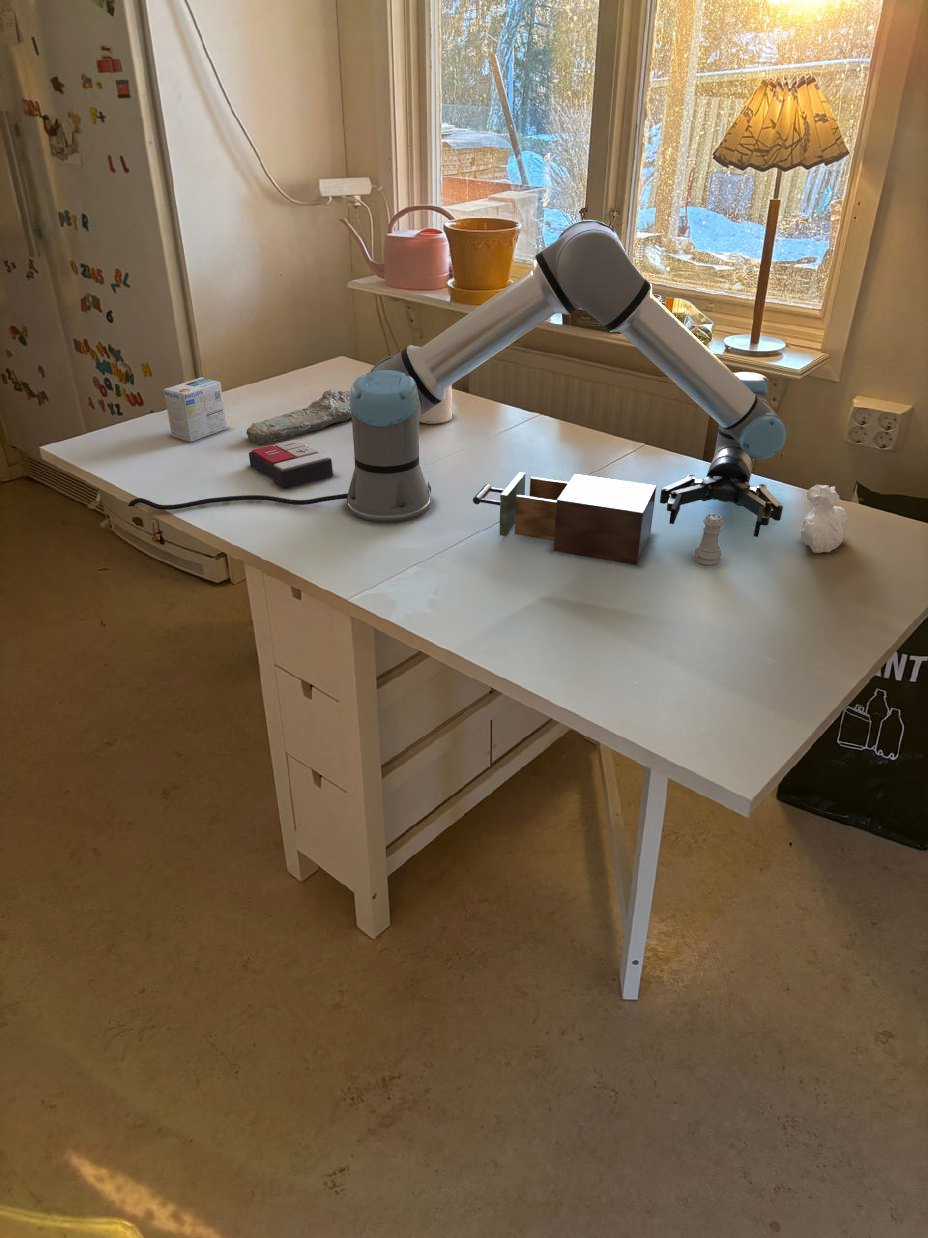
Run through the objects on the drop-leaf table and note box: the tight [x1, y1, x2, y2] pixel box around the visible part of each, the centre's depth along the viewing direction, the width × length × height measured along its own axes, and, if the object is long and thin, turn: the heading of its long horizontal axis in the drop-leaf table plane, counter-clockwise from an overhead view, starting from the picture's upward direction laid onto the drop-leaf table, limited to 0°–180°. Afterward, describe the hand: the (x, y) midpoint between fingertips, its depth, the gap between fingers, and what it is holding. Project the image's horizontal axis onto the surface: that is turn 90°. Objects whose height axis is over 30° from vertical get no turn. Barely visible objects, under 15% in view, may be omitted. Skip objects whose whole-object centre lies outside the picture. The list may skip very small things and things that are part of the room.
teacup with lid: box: [419, 384, 453, 425], centre depth 206 cm, size 12×9×12 cm
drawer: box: [472, 471, 570, 542], centre depth 156 cm, size 19×10×8 cm, turn 69°
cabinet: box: [553, 473, 657, 566], centre depth 152 cm, size 14×12×9 cm
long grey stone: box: [246, 389, 352, 446], centre depth 204 cm, size 35×5×10 cm
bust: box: [800, 484, 849, 554], centre depth 153 cm, size 12×8×11 cm
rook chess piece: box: [693, 512, 724, 567], centre depth 147 cm, size 4×4×8 cm
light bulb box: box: [163, 377, 228, 443], centre depth 197 cm, size 11×7×11 cm, turn 144°
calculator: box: [248, 439, 334, 490], centre depth 180 cm, size 11×4×15 cm
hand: (714, 522), depth 148 cm, fingers open, 13 cm apart
